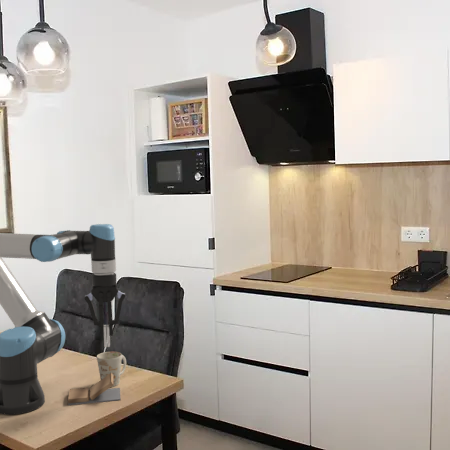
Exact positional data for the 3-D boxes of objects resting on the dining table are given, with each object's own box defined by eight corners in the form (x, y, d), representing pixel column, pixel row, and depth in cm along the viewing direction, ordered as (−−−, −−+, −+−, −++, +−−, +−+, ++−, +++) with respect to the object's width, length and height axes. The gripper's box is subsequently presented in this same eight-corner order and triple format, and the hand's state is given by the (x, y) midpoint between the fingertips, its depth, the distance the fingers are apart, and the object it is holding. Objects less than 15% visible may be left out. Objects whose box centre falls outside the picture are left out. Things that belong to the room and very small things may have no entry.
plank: (92, 400, 182) (89, 397, 181) (92, 389, 190) (90, 386, 190) (113, 385, 182) (111, 381, 182) (113, 375, 191) (111, 372, 191)
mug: (92, 386, 196) (91, 357, 195) (116, 374, 207) (115, 346, 206) (112, 389, 192) (111, 360, 191) (135, 377, 203) (134, 349, 202)
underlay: (68, 405, 180) (68, 404, 180) (70, 393, 190) (70, 392, 189) (120, 400, 183) (120, 398, 183) (120, 388, 193) (119, 387, 193)
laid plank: (68, 403, 180) (68, 399, 180) (70, 392, 189) (70, 389, 189) (89, 401, 181) (88, 397, 181) (90, 391, 190) (89, 387, 190)
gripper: (81, 276, 179) (85, 351, 181) (125, 273, 181) (128, 347, 183) (83, 272, 186) (86, 344, 188) (124, 270, 188) (127, 340, 191)
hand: (107, 345), depth 186 cm, fingers closed
